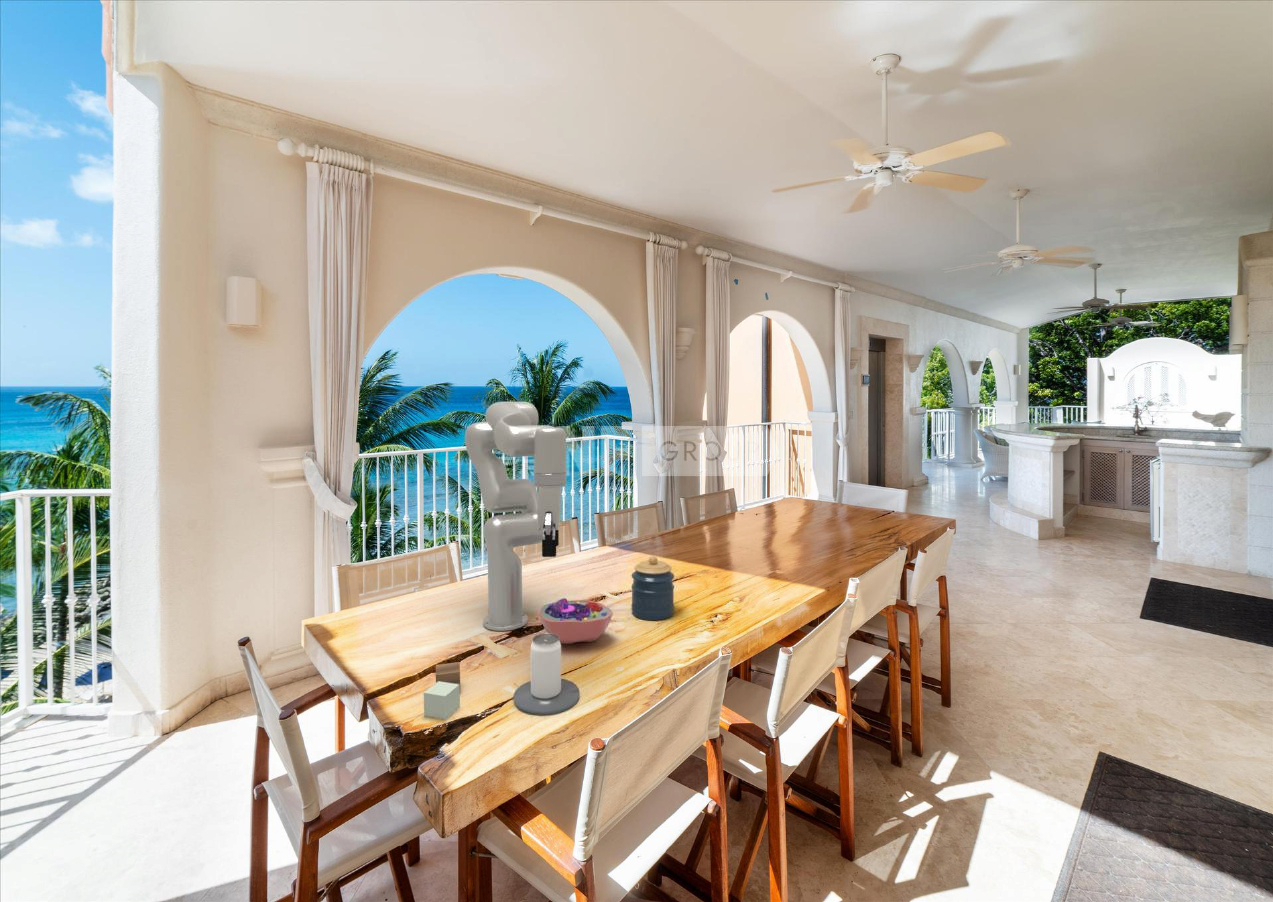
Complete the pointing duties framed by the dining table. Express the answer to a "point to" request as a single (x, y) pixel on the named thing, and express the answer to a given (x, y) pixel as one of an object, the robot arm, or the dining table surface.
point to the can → (545, 666)
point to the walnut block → (448, 673)
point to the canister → (652, 590)
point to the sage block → (441, 700)
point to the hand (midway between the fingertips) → (550, 551)
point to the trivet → (546, 706)
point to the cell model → (575, 620)
